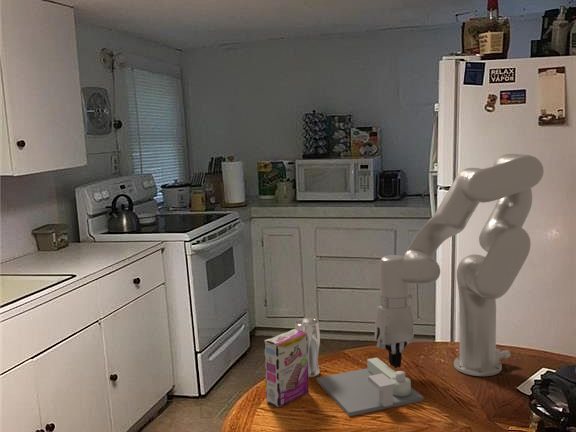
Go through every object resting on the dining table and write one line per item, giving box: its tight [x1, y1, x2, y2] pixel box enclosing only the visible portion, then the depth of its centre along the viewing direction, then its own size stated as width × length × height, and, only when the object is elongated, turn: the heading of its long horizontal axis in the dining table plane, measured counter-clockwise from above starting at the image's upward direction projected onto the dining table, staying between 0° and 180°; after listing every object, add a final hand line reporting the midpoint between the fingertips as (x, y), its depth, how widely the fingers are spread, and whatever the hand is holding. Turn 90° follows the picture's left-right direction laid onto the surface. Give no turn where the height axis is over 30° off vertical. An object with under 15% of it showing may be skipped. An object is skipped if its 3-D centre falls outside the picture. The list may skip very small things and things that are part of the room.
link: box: [366, 357, 412, 396], centre depth 146 cm, size 18×5×5 cm, turn 18°
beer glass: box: [294, 317, 321, 378], centre depth 156 cm, size 7×7×15 cm
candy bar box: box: [263, 328, 310, 408], centre depth 142 cm, size 11×5×16 cm, turn 136°
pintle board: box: [316, 368, 424, 417], centre depth 144 cm, size 20×22×6 cm
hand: (395, 365), depth 154 cm, fingers closed
